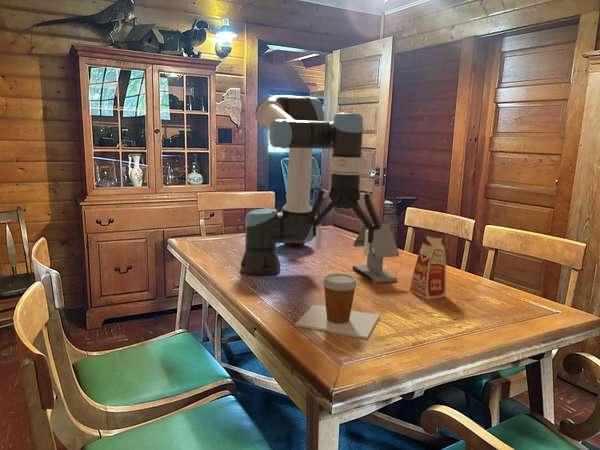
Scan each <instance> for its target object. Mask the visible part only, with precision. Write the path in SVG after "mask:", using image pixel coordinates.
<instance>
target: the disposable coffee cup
mask: <svg viewBox="0 0 600 450" xmlns="http://www.w3.org/2000/svg"><path fill="white" fill-rule="evenodd" d="M322 284H323V288H324V301H325V306H326V313H327V320H328V321H330V322H333V323H346V322H348V321H349V319H350V314H351V311H352V307H353V303H354V302H353V301H354V297H355V290H356V287H357V286H358V282H357V280H356V277H355V276H353V275H350V274H345V273H330V274H327V275H325V276H324V279H323V280H322Z"/></svg>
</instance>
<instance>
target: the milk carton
mask: <svg viewBox="0 0 600 450" xmlns="http://www.w3.org/2000/svg"><path fill="white" fill-rule="evenodd" d="M442 240H443V238H435V237H431V236H428V235H426V239H425V240H424V241H423V242H422V244H421V247H420V249H419V252H418V255H417V258H416V262H415V266H414V270H413V273H412V278H411V282H410V286H409V292H411V293H413V294H415V295H417V296H419V297H421V298H423V299H425V300H426V301H428V300H433V299H437V298H438V299H439V298H442V297H443V298H444V297H446V296H447V295H446V294H447V263H446V262H447V261H446V249H445V246H444V244H443V243H442Z"/></svg>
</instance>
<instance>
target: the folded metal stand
mask: <svg viewBox="0 0 600 450" xmlns="http://www.w3.org/2000/svg"><path fill="white" fill-rule="evenodd" d="M372 224H373V223H372ZM373 225H374V224H373ZM366 230H367V227H366V226H365V225H364V226H363V227H362V229H361V231H360V232H359V234H358V235H357V237H356V239H355V240H354V242H353V246H354V247H355V248H356V247H364V244H365V231H366ZM392 257H393V258H395V257H400V252H399V249H398V246H397V242H396V240H395V237H394V234H393V231H392V228H391V226H390V224H389V223H388V222H387V223H386V222H385V223H381V228H380V229H378V230H374V240H373V242H372V243H369V254H368V255H367V256H366V258H367V259H366V264H364V265H363V264H362V265H353V266H352V271H360V272H362V273H364V274H365V275H366V276H368V277H370V279H371V280H370V282H371V283H372V284H383V283H384V284H385V283H397V282H398V277H397V276H395V275H394V274H392V273H390V272H389V271H387V270H385V269H384V267H383V265H384V258H392Z"/></svg>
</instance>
